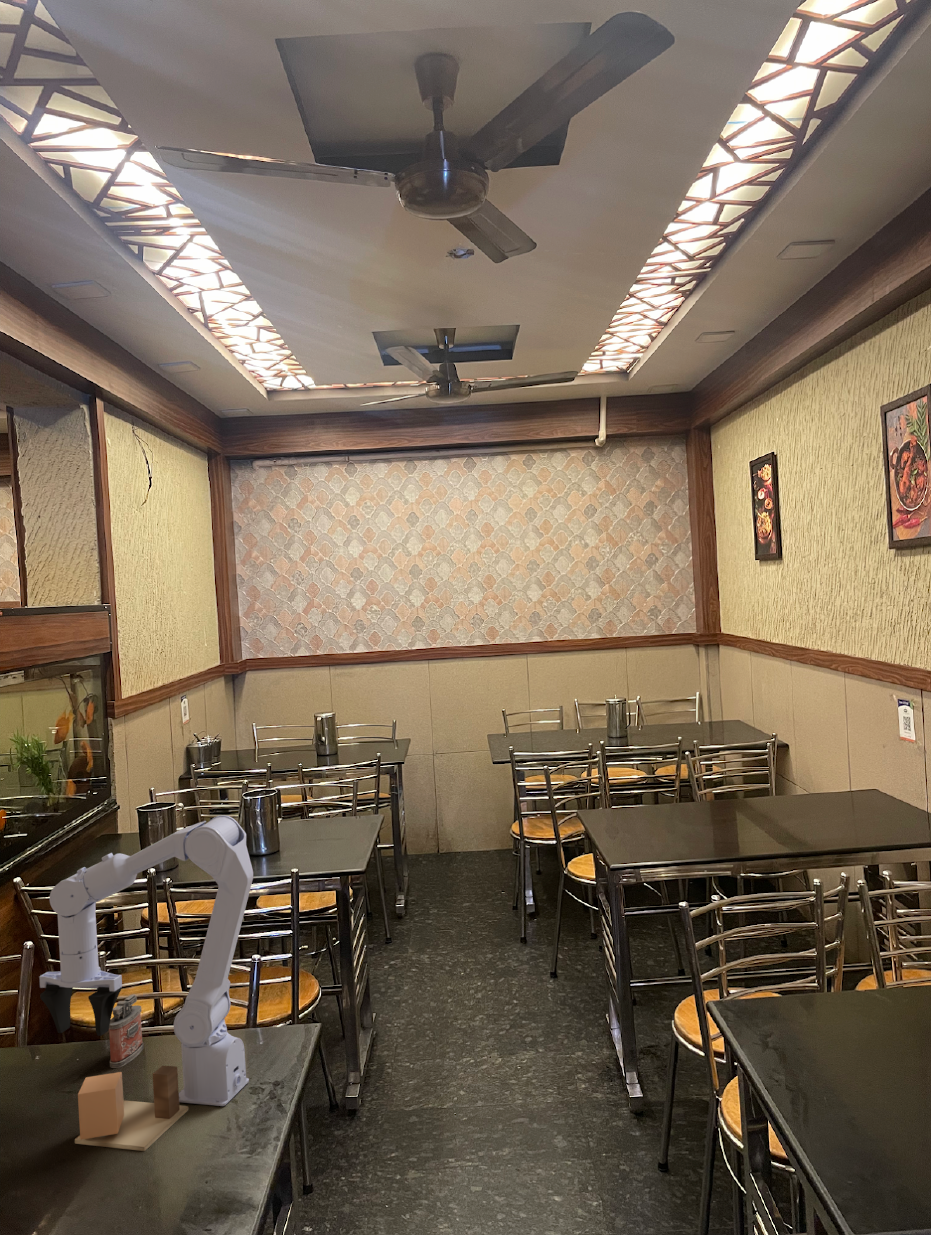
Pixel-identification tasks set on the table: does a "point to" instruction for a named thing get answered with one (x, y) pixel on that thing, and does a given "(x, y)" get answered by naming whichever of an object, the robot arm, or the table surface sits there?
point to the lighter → (125, 1032)
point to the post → (166, 1092)
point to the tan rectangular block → (101, 1105)
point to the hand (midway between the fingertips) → (83, 1031)
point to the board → (136, 1128)
